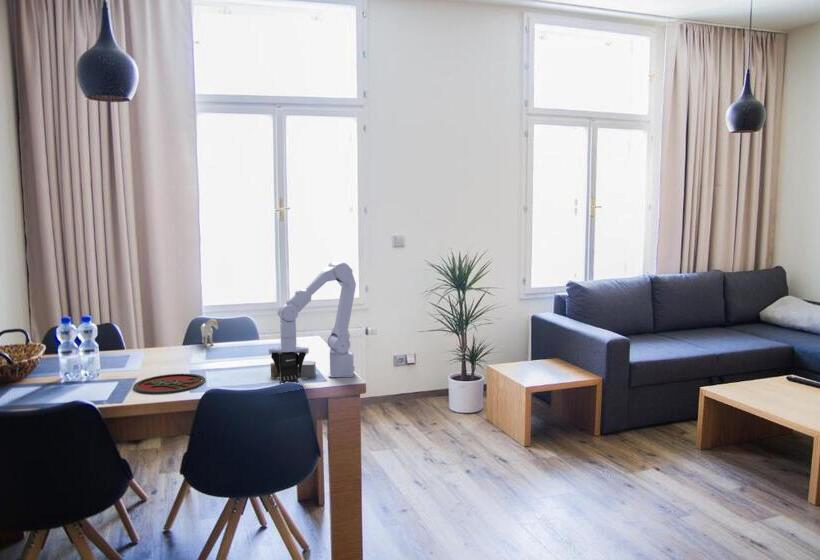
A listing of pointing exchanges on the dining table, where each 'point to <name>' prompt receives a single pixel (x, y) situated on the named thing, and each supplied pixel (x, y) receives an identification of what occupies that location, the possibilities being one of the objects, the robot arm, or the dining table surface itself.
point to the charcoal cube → (308, 369)
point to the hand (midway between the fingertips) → (289, 372)
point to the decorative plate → (169, 383)
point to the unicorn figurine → (208, 330)
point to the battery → (288, 366)
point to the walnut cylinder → (274, 371)
